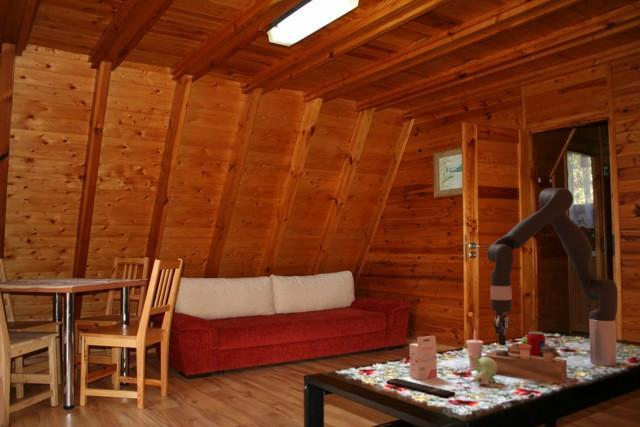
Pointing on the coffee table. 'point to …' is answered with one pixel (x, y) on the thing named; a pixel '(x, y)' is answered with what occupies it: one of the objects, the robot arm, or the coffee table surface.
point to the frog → (483, 369)
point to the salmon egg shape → (524, 351)
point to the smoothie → (474, 349)
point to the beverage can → (536, 343)
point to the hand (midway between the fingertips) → (502, 344)
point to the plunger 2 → (548, 353)
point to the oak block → (530, 367)
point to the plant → (516, 350)
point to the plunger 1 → (502, 353)
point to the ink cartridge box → (423, 358)
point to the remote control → (421, 388)
